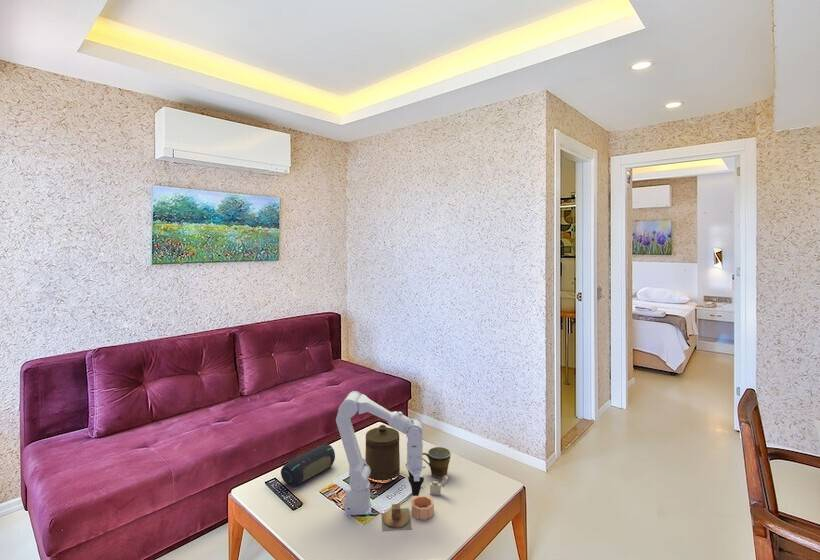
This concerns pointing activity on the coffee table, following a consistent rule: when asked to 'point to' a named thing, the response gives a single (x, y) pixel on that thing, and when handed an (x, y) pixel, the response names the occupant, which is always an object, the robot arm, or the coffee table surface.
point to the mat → (406, 527)
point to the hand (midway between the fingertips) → (414, 489)
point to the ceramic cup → (438, 461)
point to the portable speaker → (308, 465)
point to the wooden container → (383, 453)
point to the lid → (396, 517)
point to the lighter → (437, 486)
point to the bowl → (422, 507)
